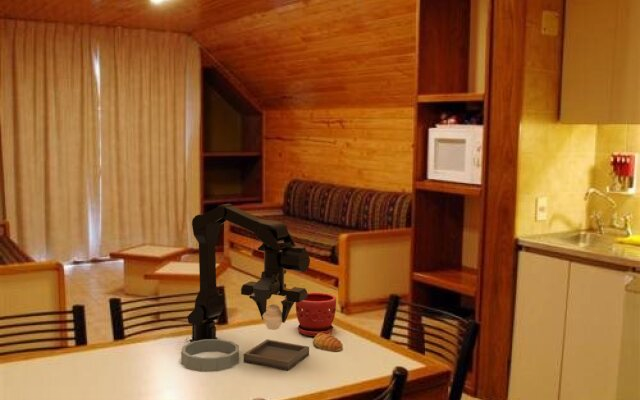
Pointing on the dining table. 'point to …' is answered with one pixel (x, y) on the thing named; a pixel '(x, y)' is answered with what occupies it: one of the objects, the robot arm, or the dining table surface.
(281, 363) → the tray
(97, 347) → the dining table surface
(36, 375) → the dining table surface
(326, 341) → the pastry
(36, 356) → the dining table surface
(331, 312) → the plant pot
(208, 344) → the grey polygonal ring
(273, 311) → the muffin
